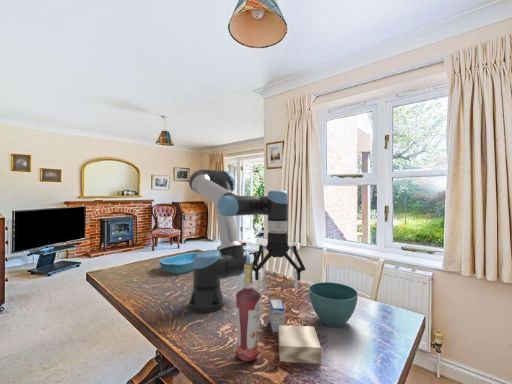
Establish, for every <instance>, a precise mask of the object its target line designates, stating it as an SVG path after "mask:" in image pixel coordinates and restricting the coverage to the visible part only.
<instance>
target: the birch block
mask: <svg viewBox="0 0 512 384" xmlns="http://www.w3.org/2000/svg"><path fill="white" fill-rule="evenodd" d="M277 333H278V355H279V357H278V358H279V362H280V361H284V362H283V363H301V364H316V363H321V364H322V347H321V343H320V340H319V338H318V335H317V332H316V328H315V326H310V325H308V326H307V325H305V326H304V325H285V324H284V325H279V332H277Z"/></svg>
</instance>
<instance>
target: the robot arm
mask: <svg viewBox="0 0 512 384" xmlns="http://www.w3.org/2000/svg"><path fill="white" fill-rule="evenodd" d="M188 185H189V188H190V190H192V191H193V192H194V193H196V194H197V195H201V196H203V197H204V198H206V199H207V200H209V201H210V202H212V203H213V204H214V210H215V216H216V220H217V227H218V234H219V240H220V245H221V246H220V247H219V249H208V250H204V251H200V252H197V253H198V254H197V255H195V257H194V264H193V270H192V271H193V272H192V273H193V274H192V275H193V278H192V281H193V282H192V285H193V286H192V291H191V294H190V297H189V300H188V308H189V310H190V311H192V312H195V313H201V314H204V313H205V314H206V313H207V314H208V313H214V312H217V311H219V310H220V309H222V308H223V307H224V306H225V305H224V304H225V303H224V302H225V300H224V295H223V292H222V289H221V280H223V279H224V280H225V279H228V278H232V277H240V276H242V275H245V272H244V264H245V263H251V256H250V252H248V250H247V249H244V245H243V244H242V243H240V241H239V236H238V230H237V226H236V221H235V216H236V217H237V216H239V217H240V216H259V215H260V216H261V215H263V216H267V244H265V245H264V244H262V243H260V244H259V247H258V251H257V253H256V255H255V256H254V259H253V261H252V264H253V272H254V275H255V276H254V279H255V281H257V282H258V283H257V291H261V268H262V267H263V266H265V264H266V263H267V262H268V261H269V259H270V258H271V257H272V258H283V257H284V258H285V259H286V260H287V261H288V263H290V265H291V266H292V267H293V269H295V270H294V271H293V273H294V277H293V278H294V281H293V283H294V284H293V285H294V287H293V288H294V291H295V292H298V282H300V281H301V273H302V272H304V271H306V267H305V265H304V263H303V260H302V258H301V256H300V255H299V253H298V249H297V245H296V244H295V243H293V244H292V245H289V243H288V241H289V239H288V238H289V236H288V235H289V234H288V229H289V223H288V221H289V220H288V217H289V216H288V215H289V214H288V213H289V197H288V195H289V194H288V192H287V191H285V190H269V191H267V195H237V194H235V193H233V192H234V190H235V188H236V186H235V185H236V181H235V177H234V175H233V174H232V173H231V171H226V170H222V169H221V170H214V169H205V168H202V169H198V170H196V171H194V172H193V173H192V174H191V175H190V176H189V179H188ZM265 249H266V250H267V253H266V255H265V256H264V257H263V258H262V260H261V261H260V262H259V263H258V261H259V259H260V257H261V255H262V253H263V252H265ZM289 250H290V251H291V252H293V254H294V257H295V258H296V260H297V262H298V264H296V262H295V261H294V260H293V258H292V257H291V256H290V255H289V254H288V251H289ZM257 263H258V264H257Z"/></svg>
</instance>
